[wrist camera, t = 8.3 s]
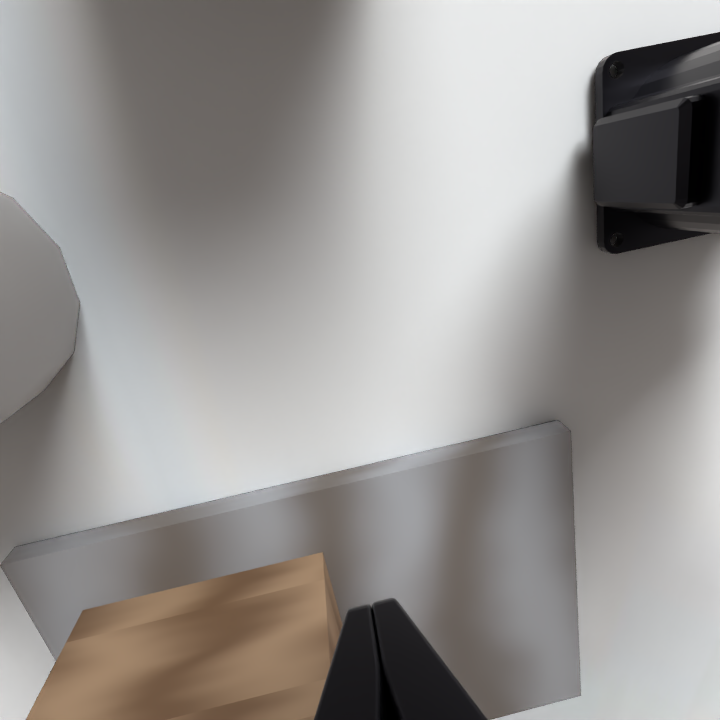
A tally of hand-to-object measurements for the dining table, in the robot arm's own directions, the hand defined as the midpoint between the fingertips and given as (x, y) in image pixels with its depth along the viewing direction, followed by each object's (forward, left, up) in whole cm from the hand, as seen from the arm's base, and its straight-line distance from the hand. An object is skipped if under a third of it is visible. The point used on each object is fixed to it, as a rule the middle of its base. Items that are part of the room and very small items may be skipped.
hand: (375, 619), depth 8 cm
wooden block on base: (+2, +12, -11) cm, 16 cm away
